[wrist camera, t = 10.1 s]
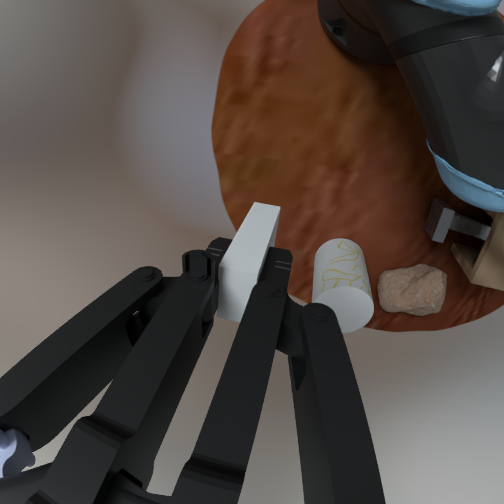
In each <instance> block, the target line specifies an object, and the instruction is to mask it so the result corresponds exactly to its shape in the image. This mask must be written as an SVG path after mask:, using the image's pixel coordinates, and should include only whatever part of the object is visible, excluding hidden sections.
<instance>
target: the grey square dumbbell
mask: <svg viewBox="0 0 504 504" xmlns="http://www.w3.org/2000/svg"><path fill="white" fill-rule="evenodd" d="M493 222H494V219H493V218H492V220H491V222H490V225H488V224H486V223H483V222H480V221H478V220H475V219H472V218H469V217H467V216H464V215H461V214H458V213H455V211H454V210H453V209H452V208H451V207H450V206H449V204H448V203H447V202H446V201H444V200H441V199H438V198H435V197H434V199H433V202H432V205H431V208H430V211H429V214H428V216H427V219H426V222H425V225H424V229H425V230H426V232H427V233H428V235H429V236H430V238H431V240H433V241H437V242H441V243H443V242H444V239H445V237H446V234H447V232H448V229H452V230H455V231H458V232H461V233H464V234H467V235H470V236H473V237H476V238H479V239H482V240H483V241H482V244H481V247H482V248H483V246H484V243H485V241H486V239H487V237H488V234H489V232H490V229H491V227H492V224H493Z"/></svg>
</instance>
